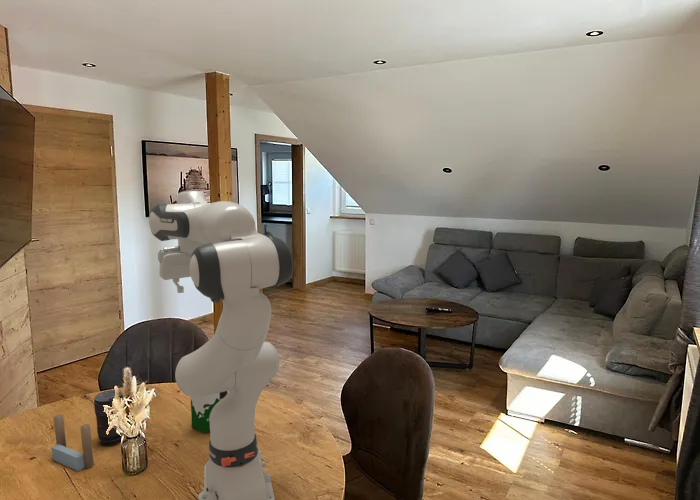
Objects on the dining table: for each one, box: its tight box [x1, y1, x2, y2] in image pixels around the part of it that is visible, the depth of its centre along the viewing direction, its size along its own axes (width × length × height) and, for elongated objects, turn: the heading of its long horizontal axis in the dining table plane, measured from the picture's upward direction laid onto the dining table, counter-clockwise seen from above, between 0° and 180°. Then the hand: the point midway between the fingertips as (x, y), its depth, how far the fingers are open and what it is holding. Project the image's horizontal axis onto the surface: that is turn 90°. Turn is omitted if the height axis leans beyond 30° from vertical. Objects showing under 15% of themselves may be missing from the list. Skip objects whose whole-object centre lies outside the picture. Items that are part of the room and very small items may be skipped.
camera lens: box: [93, 389, 124, 447], centre depth 153 cm, size 8×8×15 cm
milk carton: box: [189, 393, 221, 434], centre depth 160 cm, size 9×9×20 cm
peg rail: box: [50, 414, 95, 472], centre depth 142 cm, size 4×15×12 cm, turn 62°
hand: (196, 290), depth 149 cm, fingers open, 8 cm apart
